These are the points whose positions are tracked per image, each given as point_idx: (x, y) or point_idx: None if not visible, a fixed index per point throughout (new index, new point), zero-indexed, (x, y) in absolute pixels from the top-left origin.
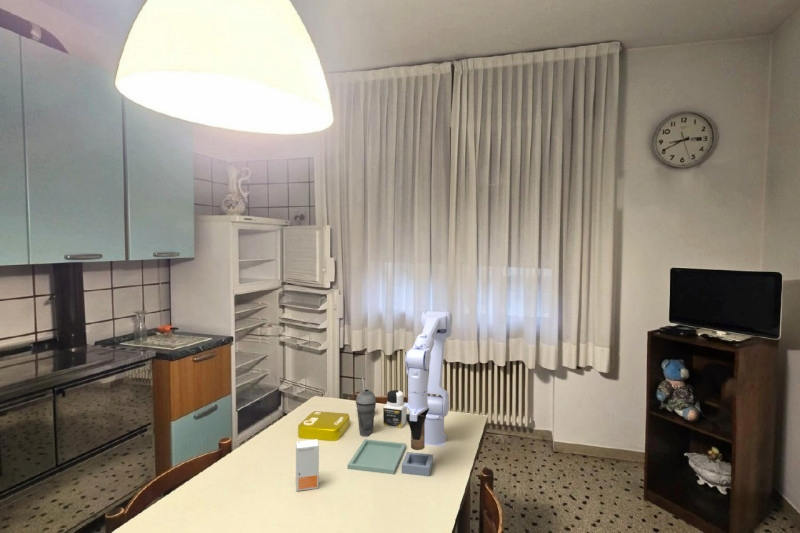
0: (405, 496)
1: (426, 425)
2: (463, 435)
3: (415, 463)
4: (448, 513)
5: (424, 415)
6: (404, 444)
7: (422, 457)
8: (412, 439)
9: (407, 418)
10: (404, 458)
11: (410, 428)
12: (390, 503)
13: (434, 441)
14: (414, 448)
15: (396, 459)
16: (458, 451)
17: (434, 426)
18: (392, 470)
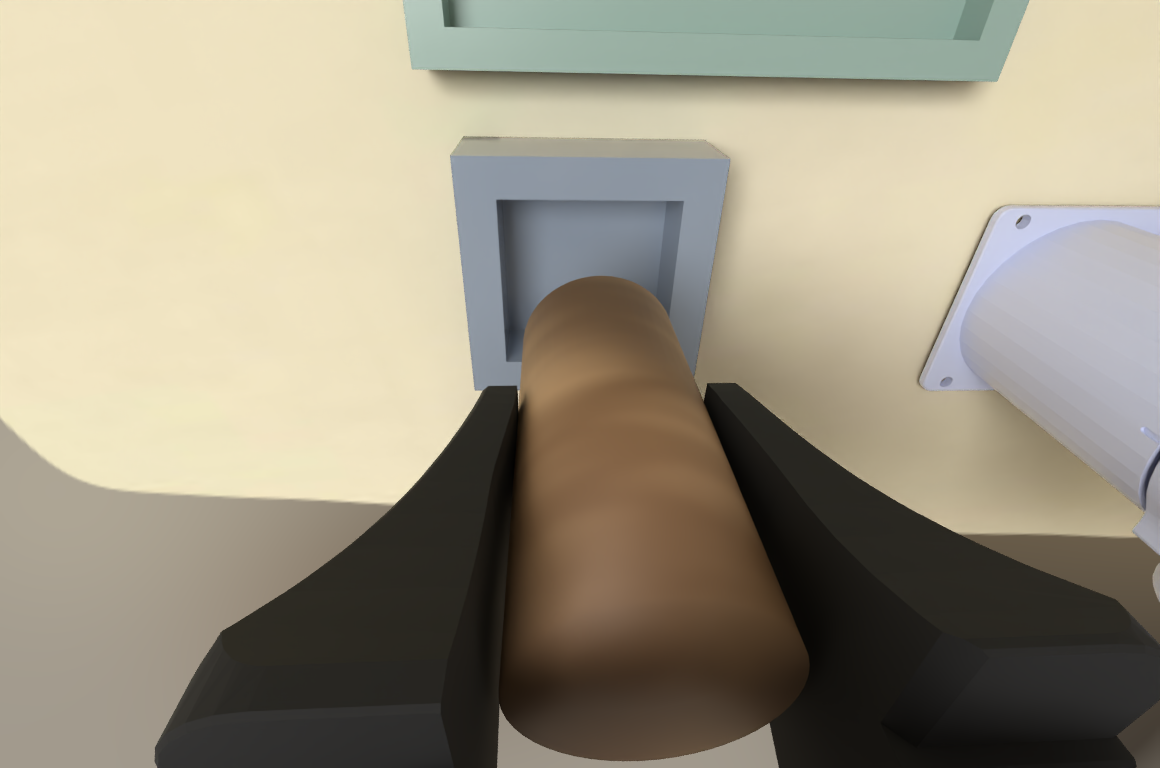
0: (186, 231)
1: (1149, 342)
2: (1077, 471)
3: (648, 231)
4: (178, 480)
5: (780, 719)
6: (973, 69)
7: (666, 306)
8: (537, 359)
9: (173, 719)
10: (588, 158)
11: (412, 488)
12: (22, 132)
13: (978, 342)
14: (525, 332)
15: (631, 46)
16: (856, 464)
17: (1086, 419)
18: (410, 50)
